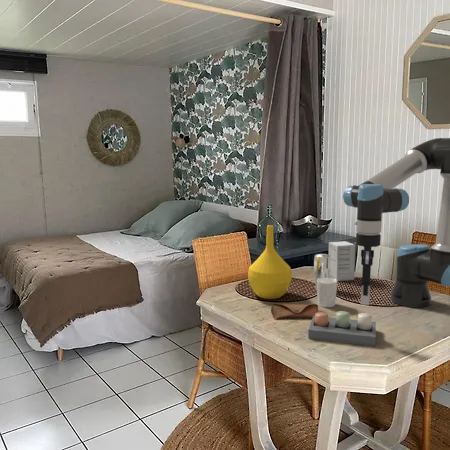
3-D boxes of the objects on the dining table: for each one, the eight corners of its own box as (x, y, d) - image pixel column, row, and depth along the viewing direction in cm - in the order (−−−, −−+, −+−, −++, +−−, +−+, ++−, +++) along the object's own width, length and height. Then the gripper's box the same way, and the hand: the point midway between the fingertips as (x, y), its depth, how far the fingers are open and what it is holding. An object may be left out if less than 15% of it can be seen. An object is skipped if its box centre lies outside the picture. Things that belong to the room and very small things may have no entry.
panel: (375, 330, 159) (375, 321, 159) (375, 345, 147) (375, 337, 147) (313, 323, 166) (313, 315, 165) (308, 338, 154) (308, 329, 153)
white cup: (336, 308, 181) (337, 283, 179) (316, 307, 182) (316, 282, 180) (336, 301, 188) (336, 278, 186) (316, 300, 190) (316, 277, 188)
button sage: (349, 323, 157) (350, 311, 157) (349, 328, 153) (349, 316, 153) (336, 321, 159) (336, 310, 158) (335, 326, 155) (335, 315, 154)
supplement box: (354, 280, 217) (356, 244, 214) (336, 281, 215) (337, 246, 212) (345, 274, 226) (346, 240, 224) (327, 276, 224) (328, 241, 221)
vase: (300, 296, 195) (301, 226, 190) (266, 305, 185) (267, 231, 179) (272, 286, 210) (272, 220, 204) (239, 294, 199) (238, 225, 194)
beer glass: (331, 287, 206) (332, 254, 204) (326, 292, 200) (327, 258, 198) (317, 285, 210) (317, 253, 207) (311, 289, 204) (311, 256, 201)
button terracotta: (328, 324, 160) (328, 312, 159) (327, 328, 156) (327, 317, 155) (315, 322, 161) (315, 311, 160) (314, 327, 157) (314, 316, 156)
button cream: (371, 325, 155) (372, 313, 155) (371, 330, 151) (372, 318, 150) (357, 324, 157) (358, 312, 156) (357, 328, 152) (357, 317, 152)
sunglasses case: (273, 319, 170) (272, 301, 172) (271, 322, 176) (270, 305, 179) (322, 319, 170) (321, 301, 172) (319, 322, 176) (317, 305, 179)
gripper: (356, 228, 156) (353, 296, 160) (355, 236, 143) (352, 309, 147) (380, 230, 153) (376, 298, 157) (381, 237, 141) (377, 311, 145)
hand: (364, 303), depth 152 cm, fingers closed
